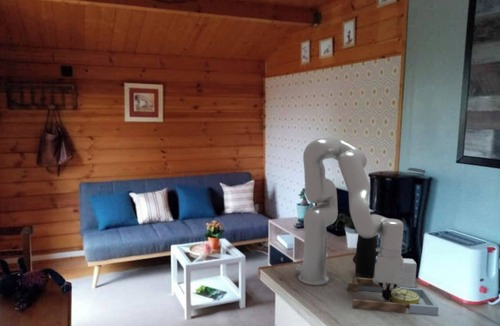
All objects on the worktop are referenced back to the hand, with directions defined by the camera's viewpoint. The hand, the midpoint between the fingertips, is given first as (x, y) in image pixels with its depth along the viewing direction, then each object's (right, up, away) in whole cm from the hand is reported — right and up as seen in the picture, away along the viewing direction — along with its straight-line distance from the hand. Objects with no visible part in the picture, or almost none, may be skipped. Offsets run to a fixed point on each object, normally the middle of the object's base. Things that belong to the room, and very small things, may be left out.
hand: (386, 298), depth 157 cm
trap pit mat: (-2, 0, +11) cm, 11 cm away
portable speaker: (-1, +2, +25) cm, 25 cm away
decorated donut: (+7, -2, +1) cm, 7 cm away
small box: (+13, 0, +17) cm, 21 cm away
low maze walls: (-4, 0, +4) cm, 5 cm away
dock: (+11, -2, -1) cm, 11 cm away
